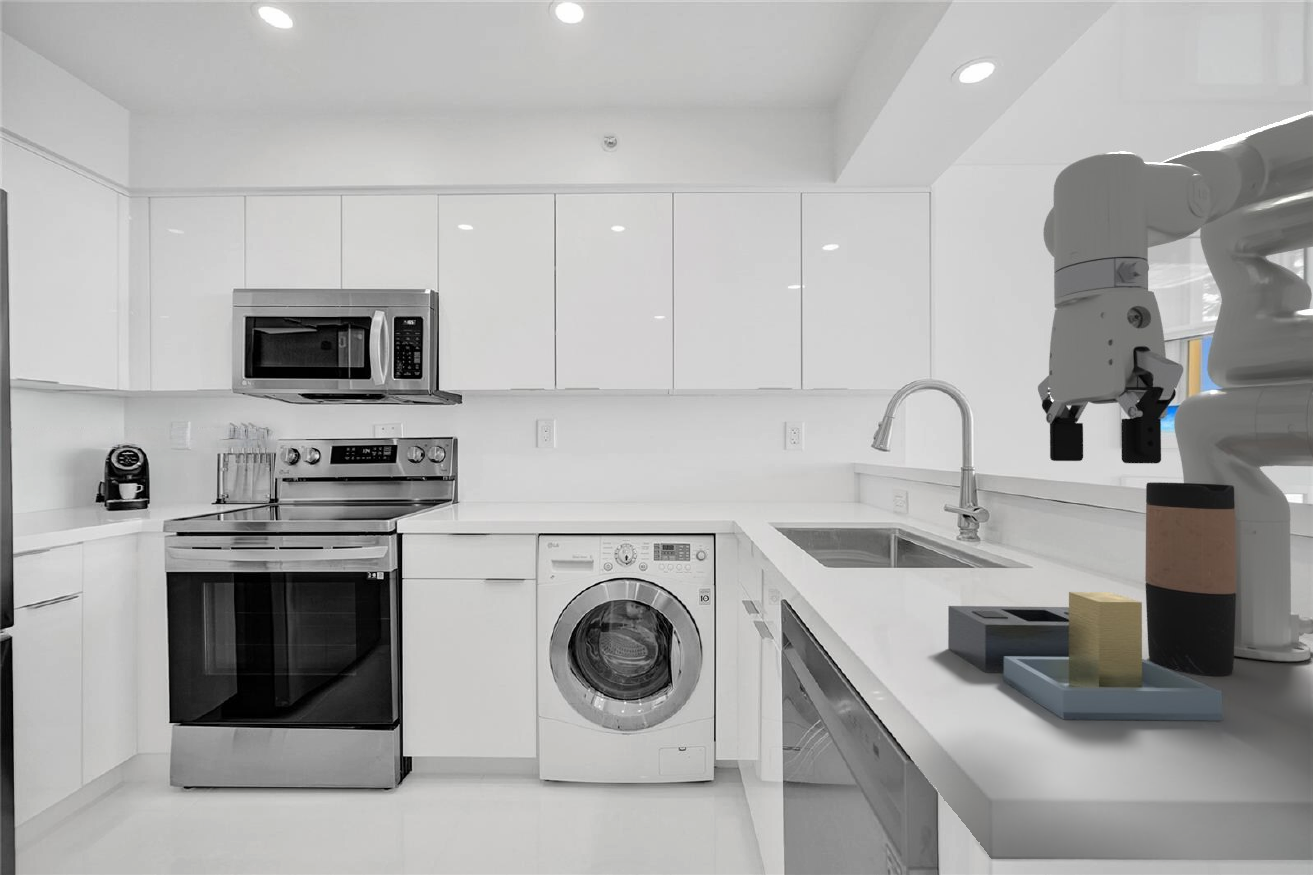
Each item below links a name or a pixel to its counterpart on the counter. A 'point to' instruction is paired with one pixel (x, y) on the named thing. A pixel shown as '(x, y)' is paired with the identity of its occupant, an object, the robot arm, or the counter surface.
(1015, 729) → the counter surface
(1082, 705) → the parts tray
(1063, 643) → the grey slotted block
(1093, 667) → the brushed brass bar
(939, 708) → the counter surface
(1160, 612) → the travel mug
